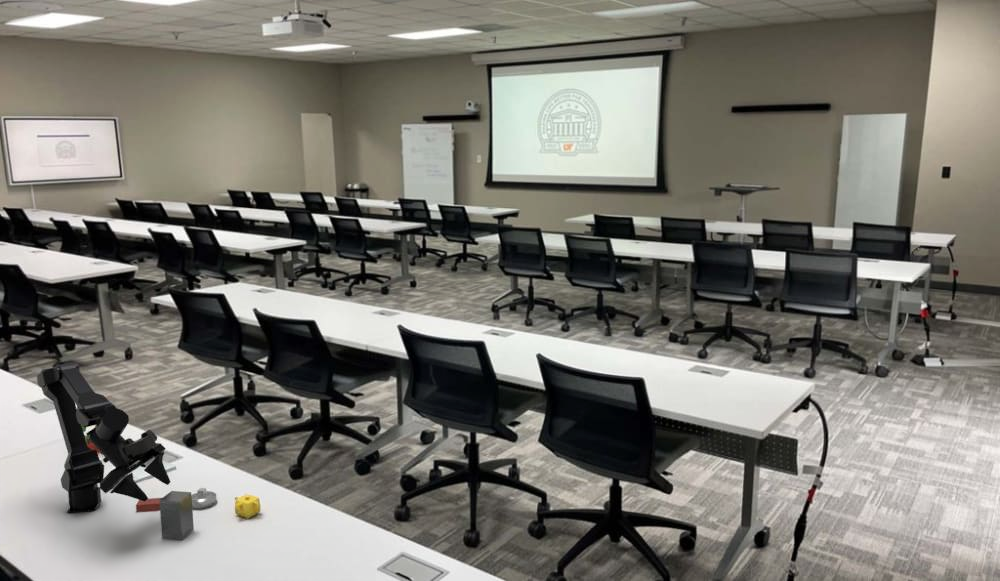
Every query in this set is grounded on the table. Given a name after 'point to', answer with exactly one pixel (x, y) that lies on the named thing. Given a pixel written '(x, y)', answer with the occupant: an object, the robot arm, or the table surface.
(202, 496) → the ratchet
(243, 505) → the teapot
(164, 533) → the brushed steel square block
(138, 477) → the hard drive
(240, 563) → the table surface
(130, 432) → the table surface
